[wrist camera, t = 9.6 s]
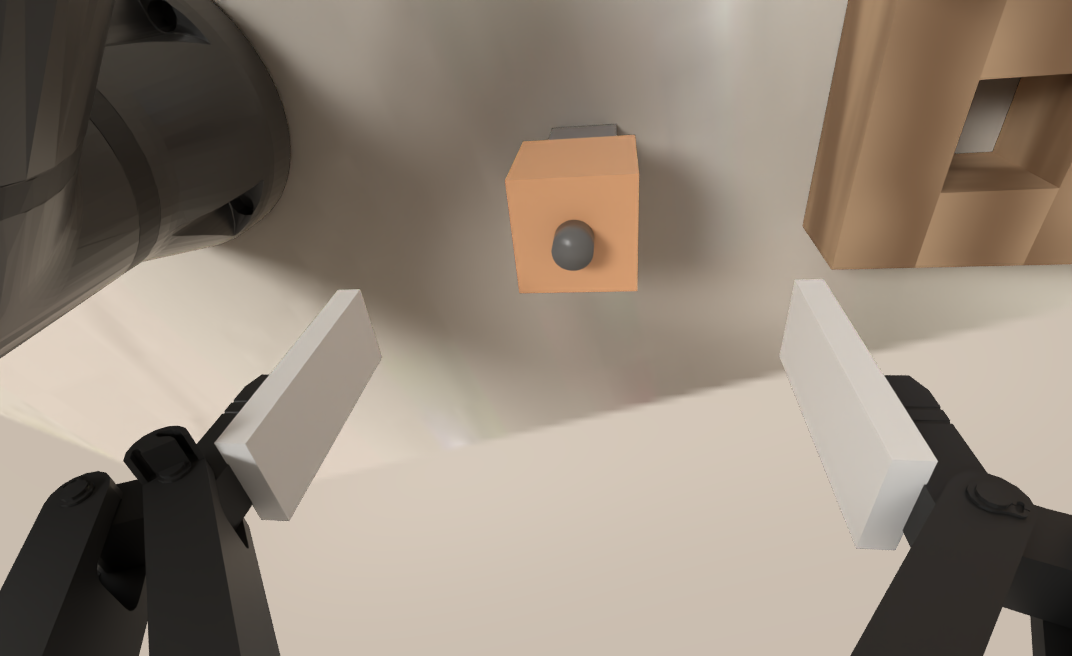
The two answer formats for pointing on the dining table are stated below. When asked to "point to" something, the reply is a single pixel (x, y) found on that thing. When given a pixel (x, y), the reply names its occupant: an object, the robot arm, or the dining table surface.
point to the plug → (575, 211)
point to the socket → (945, 137)
